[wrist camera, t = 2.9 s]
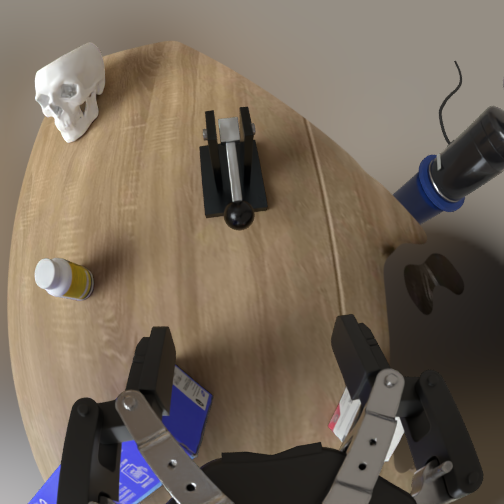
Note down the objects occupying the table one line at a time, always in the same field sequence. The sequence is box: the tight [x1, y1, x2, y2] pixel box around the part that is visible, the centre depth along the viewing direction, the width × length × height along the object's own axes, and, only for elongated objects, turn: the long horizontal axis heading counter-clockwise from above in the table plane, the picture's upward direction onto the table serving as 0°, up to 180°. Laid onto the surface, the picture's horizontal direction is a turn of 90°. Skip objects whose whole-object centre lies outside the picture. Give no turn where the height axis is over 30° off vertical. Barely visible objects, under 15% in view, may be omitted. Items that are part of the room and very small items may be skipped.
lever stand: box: [200, 107, 268, 218], centre depth 35 cm, size 12×9×14 cm
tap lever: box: [218, 117, 255, 230], centre depth 31 cm, size 13×4×4 cm, turn 9°
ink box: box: [328, 387, 404, 462], centre depth 29 cm, size 9×5×12 cm, turn 158°
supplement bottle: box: [35, 258, 94, 300], centre depth 32 cm, size 5×5×10 cm
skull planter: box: [35, 42, 105, 143], centre depth 39 cm, size 14×20×19 cm
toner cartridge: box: [28, 364, 213, 504], centre depth 22 cm, size 39×8×18 cm, turn 140°
